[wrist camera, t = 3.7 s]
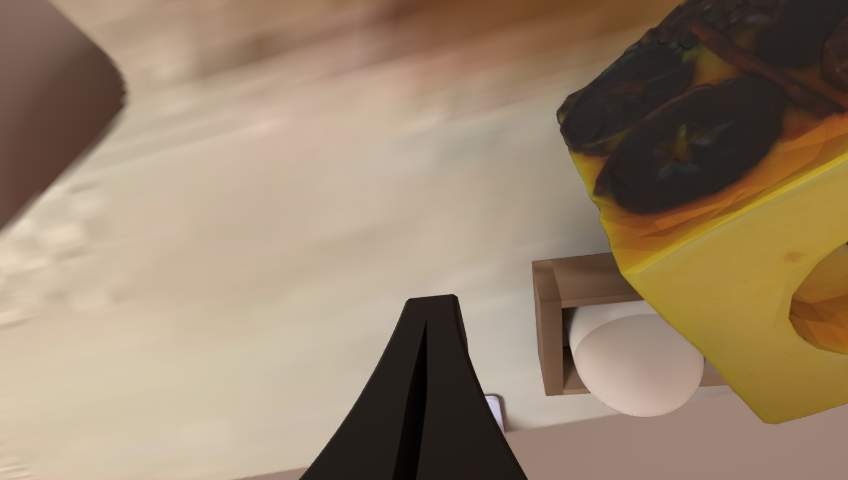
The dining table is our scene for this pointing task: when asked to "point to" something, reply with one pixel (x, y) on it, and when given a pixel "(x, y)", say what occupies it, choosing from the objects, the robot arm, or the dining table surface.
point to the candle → (732, 189)
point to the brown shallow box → (571, 288)
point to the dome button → (632, 357)
